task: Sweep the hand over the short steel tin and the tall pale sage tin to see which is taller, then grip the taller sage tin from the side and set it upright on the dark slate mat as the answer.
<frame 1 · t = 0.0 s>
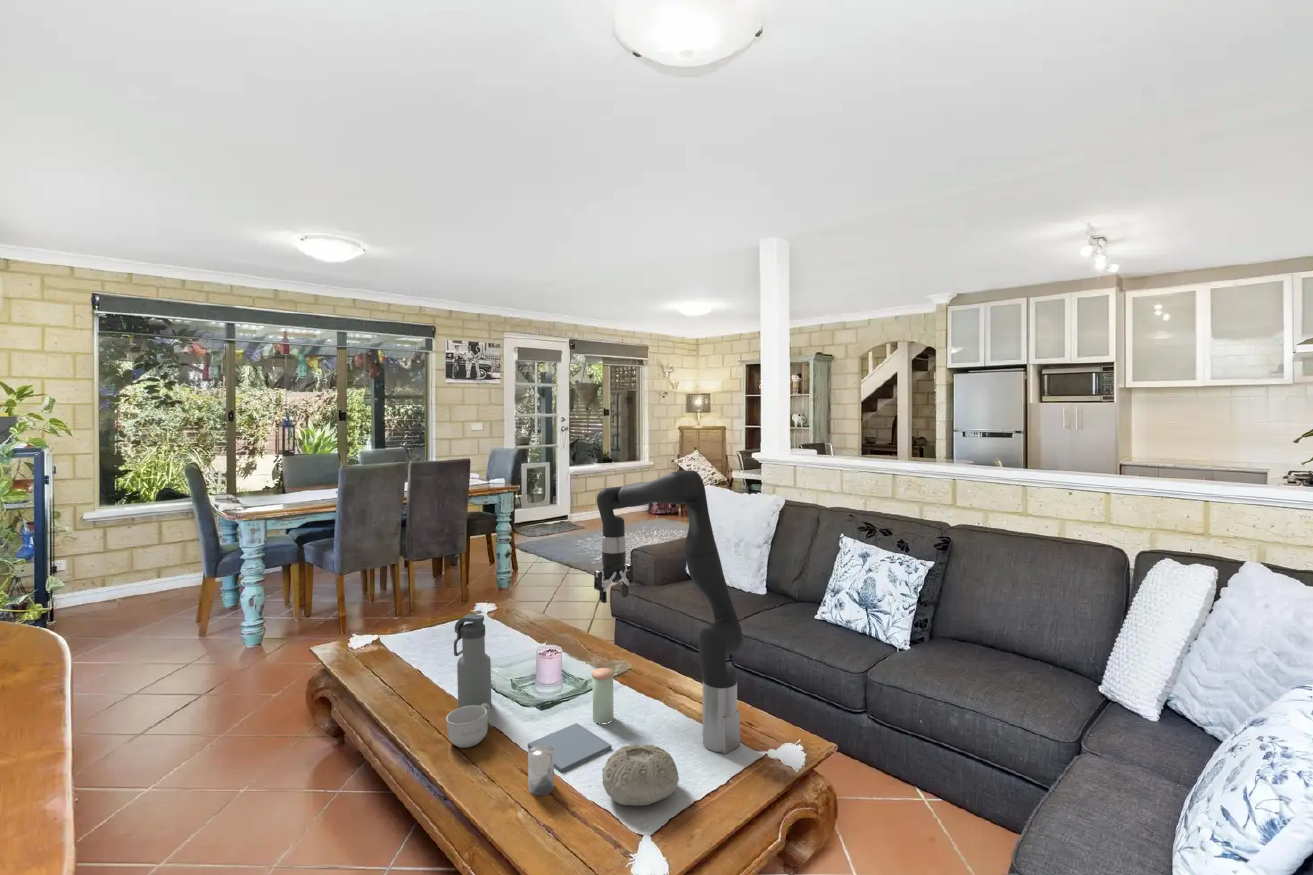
hand: (614, 599, 201), 29 cm above the table, tool pointing down, fingers open, 8 cm apart
decorative shell: (641, 794, 148), on the table
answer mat: (569, 747, 168), on the table
sage tin: (603, 719, 183), on the table
water bottle: (474, 707, 191), on the table
steel tin: (541, 788, 150), on the table
teacup: (472, 740, 173), on the table
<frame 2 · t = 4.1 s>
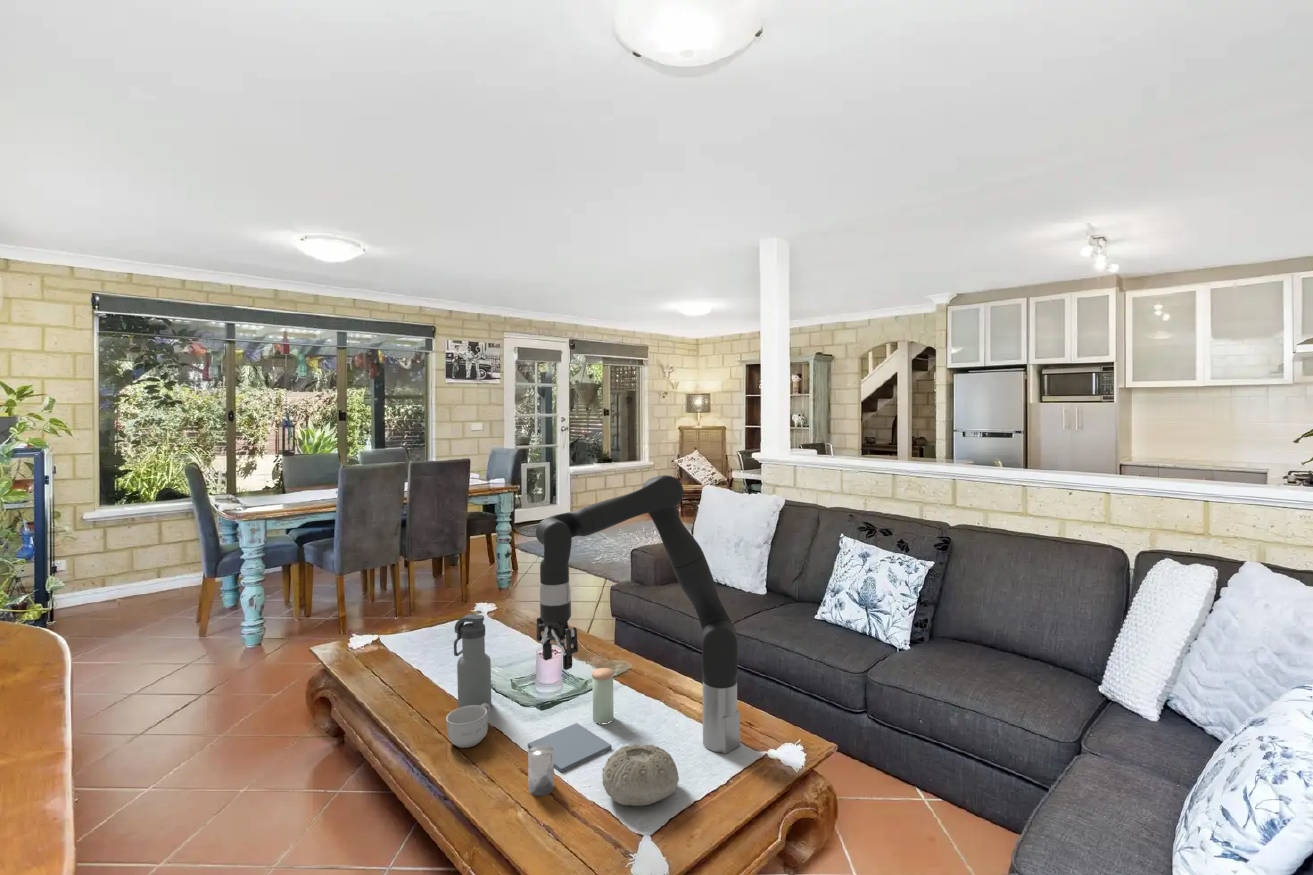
hand: (557, 663, 156), 27 cm above the table, tool pointing down, fingers open, 8 cm apart
nothing on the table moved.
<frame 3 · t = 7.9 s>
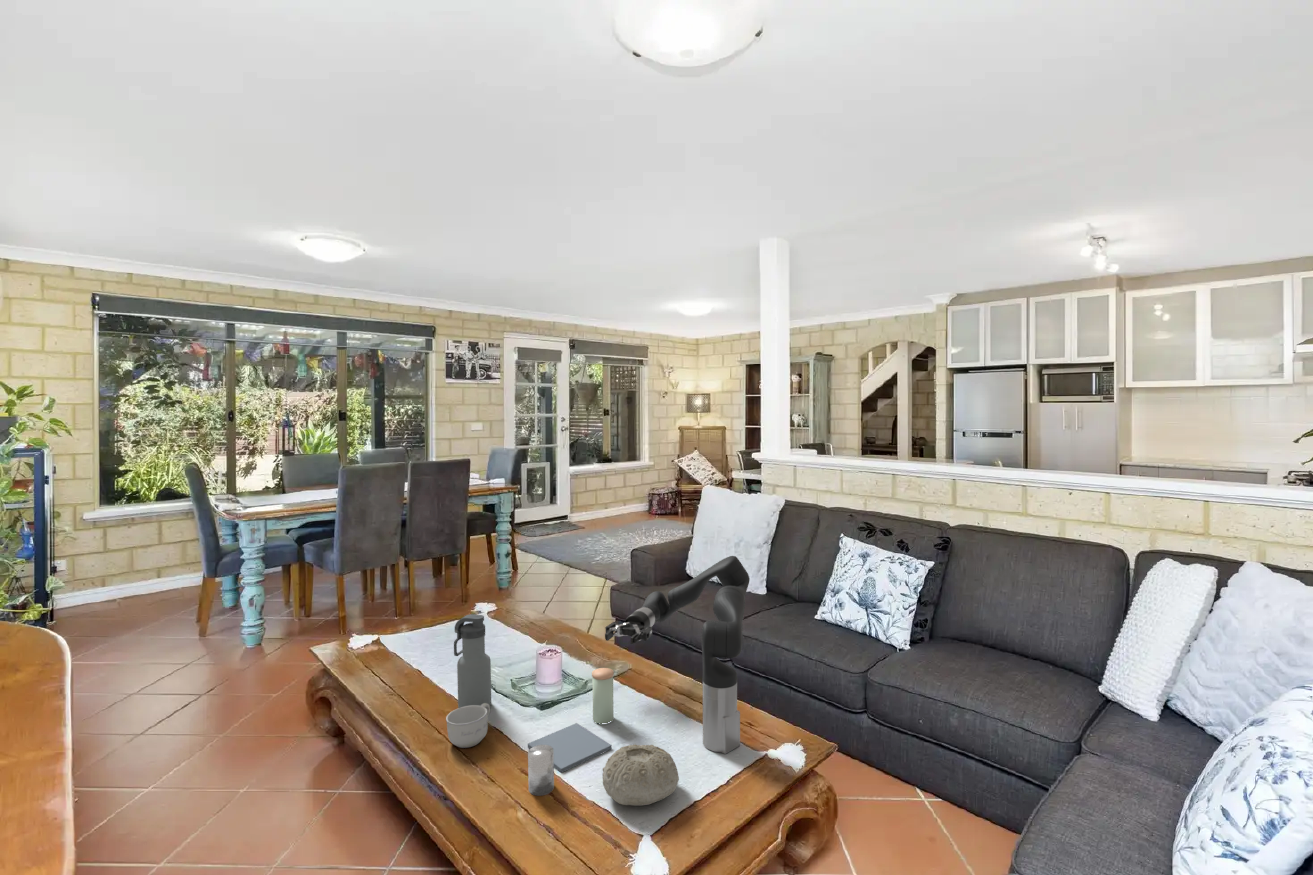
hand: (618, 639, 192), 20 cm above the table, tool horizontal, fingers open, 8 cm apart
nothing on the table moved.
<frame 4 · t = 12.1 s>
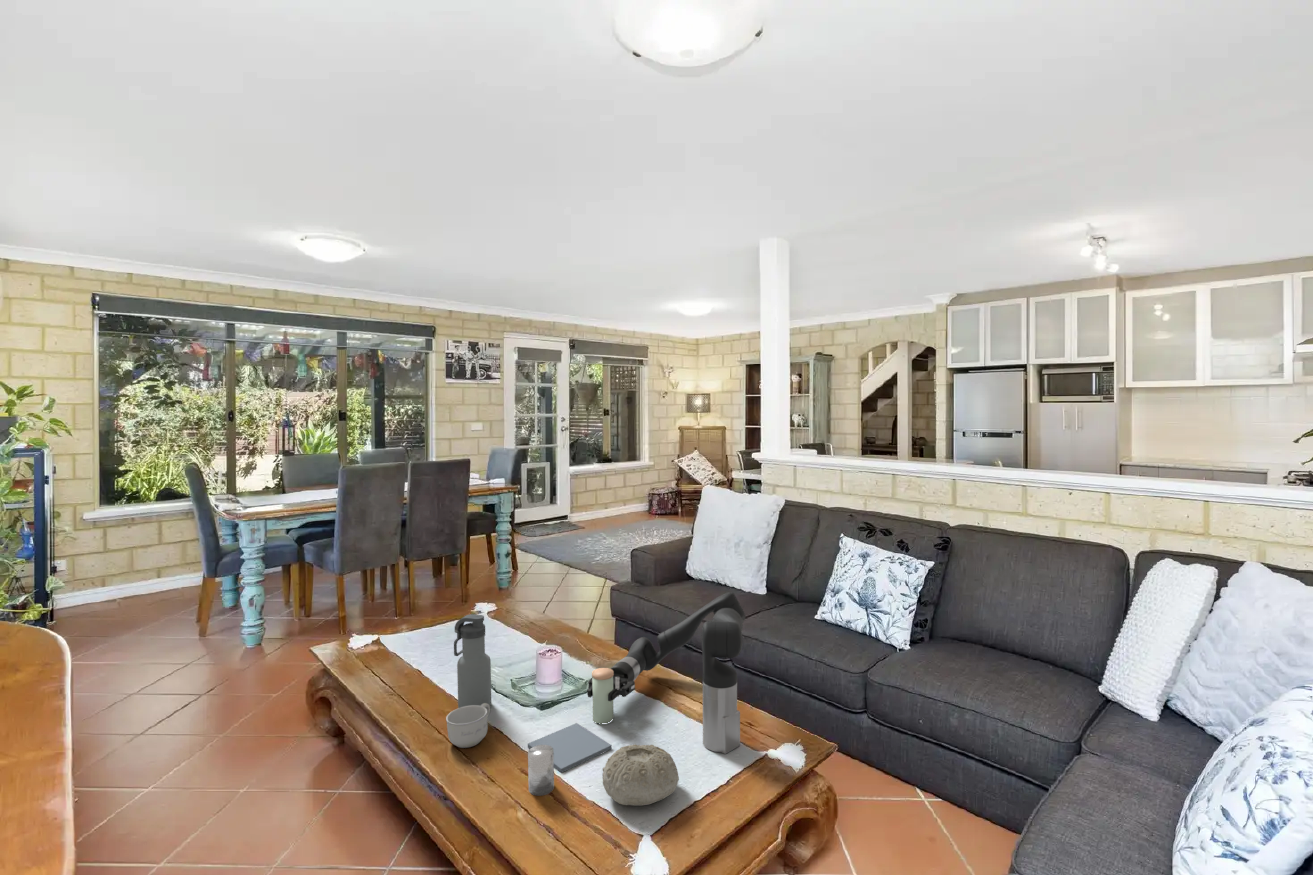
hand: (598, 696, 180), 8 cm above the table, tool horizontal, fingers closed on sage tin, 6 cm apart
sage tin: (603, 719, 183), on the table, touching gripper
everything else where it was.
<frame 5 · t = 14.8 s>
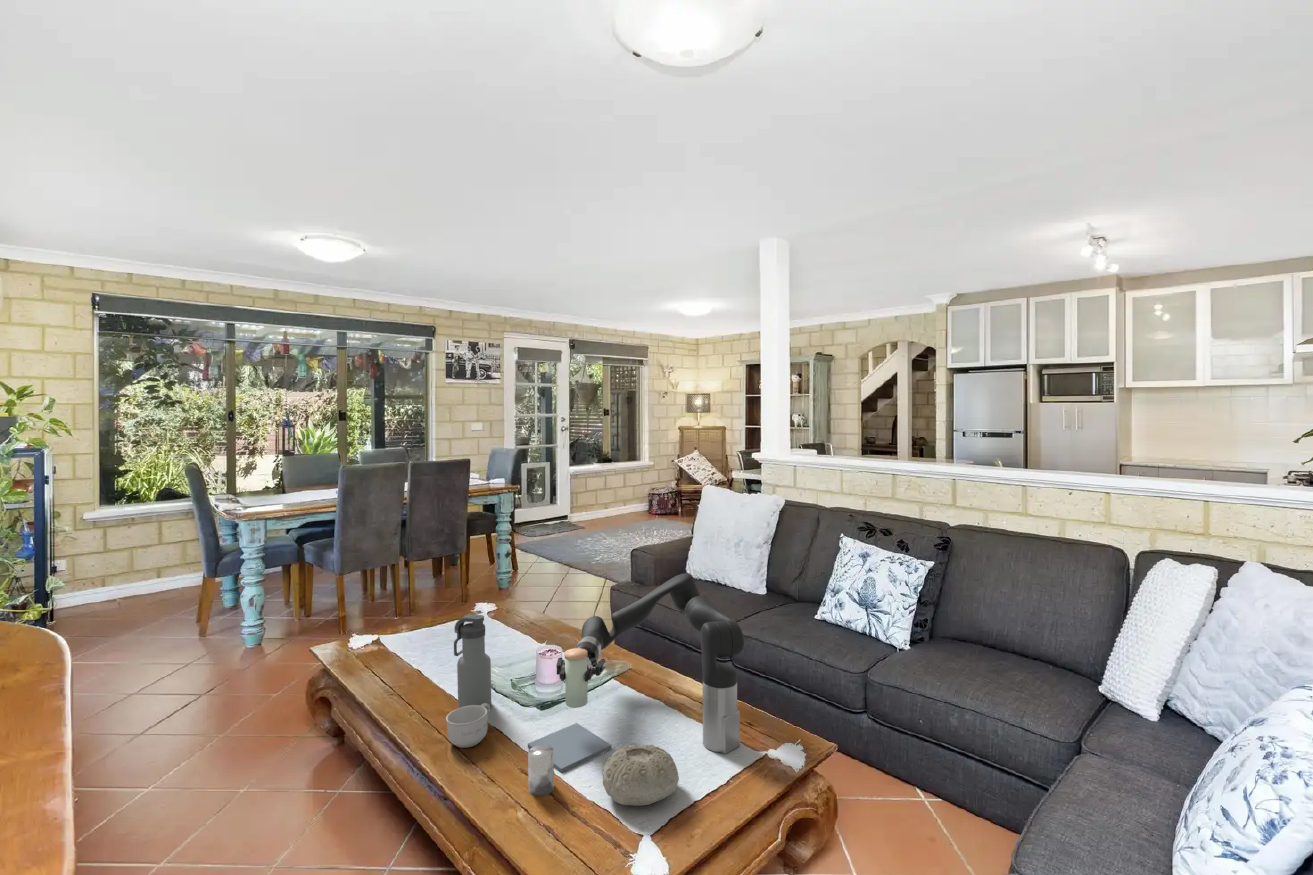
hand: (574, 677, 170), 18 cm above the table, tool horizontal, fingers closed on sage tin, 6 cm apart
sage tin: (576, 702, 173), point 10 cm above the table, touching gripper
everything else where it was.
when the fingers open (10 cm above the table, at t = 17.6 s): sage tin drops 1 cm, resting on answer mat.
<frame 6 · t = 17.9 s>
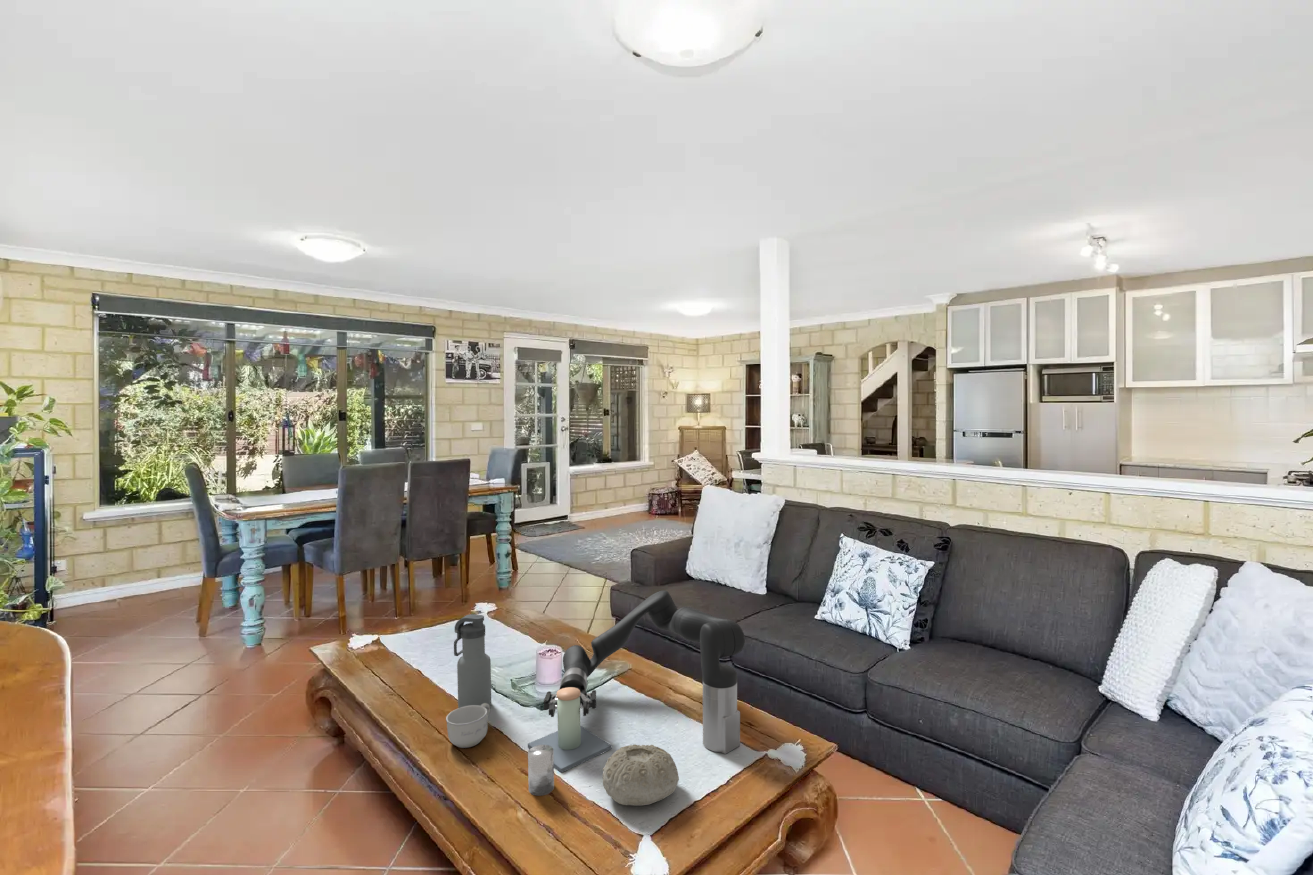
hand: (568, 713, 165), 11 cm above the table, tool horizontal, fingers open, 8 cm apart
sage tin: (569, 743, 168), point 1 cm above the table, touching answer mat
everything else where it was.
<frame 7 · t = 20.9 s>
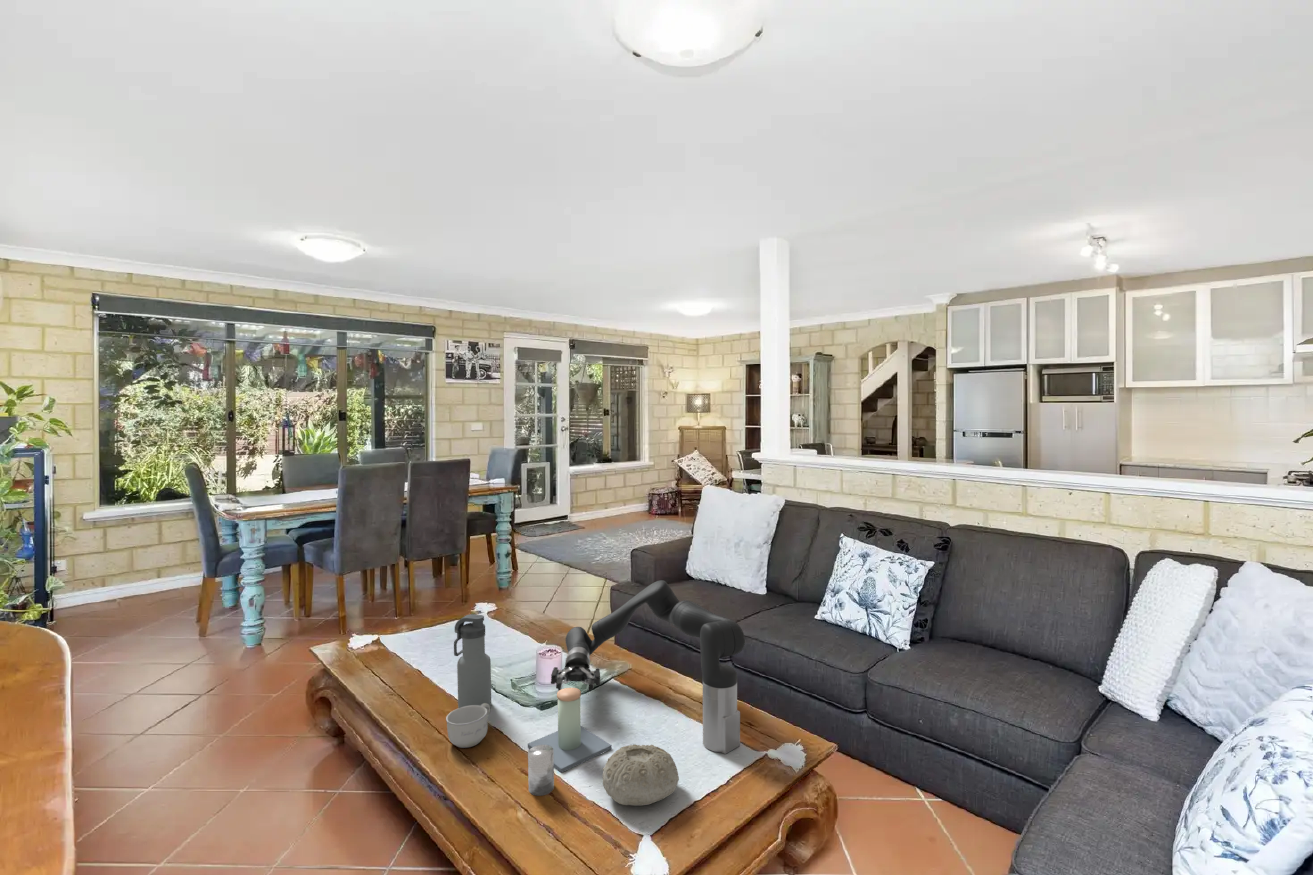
hand: (574, 687, 178), 11 cm above the table, tool horizontal, fingers open, 8 cm apart
nothing on the table moved.
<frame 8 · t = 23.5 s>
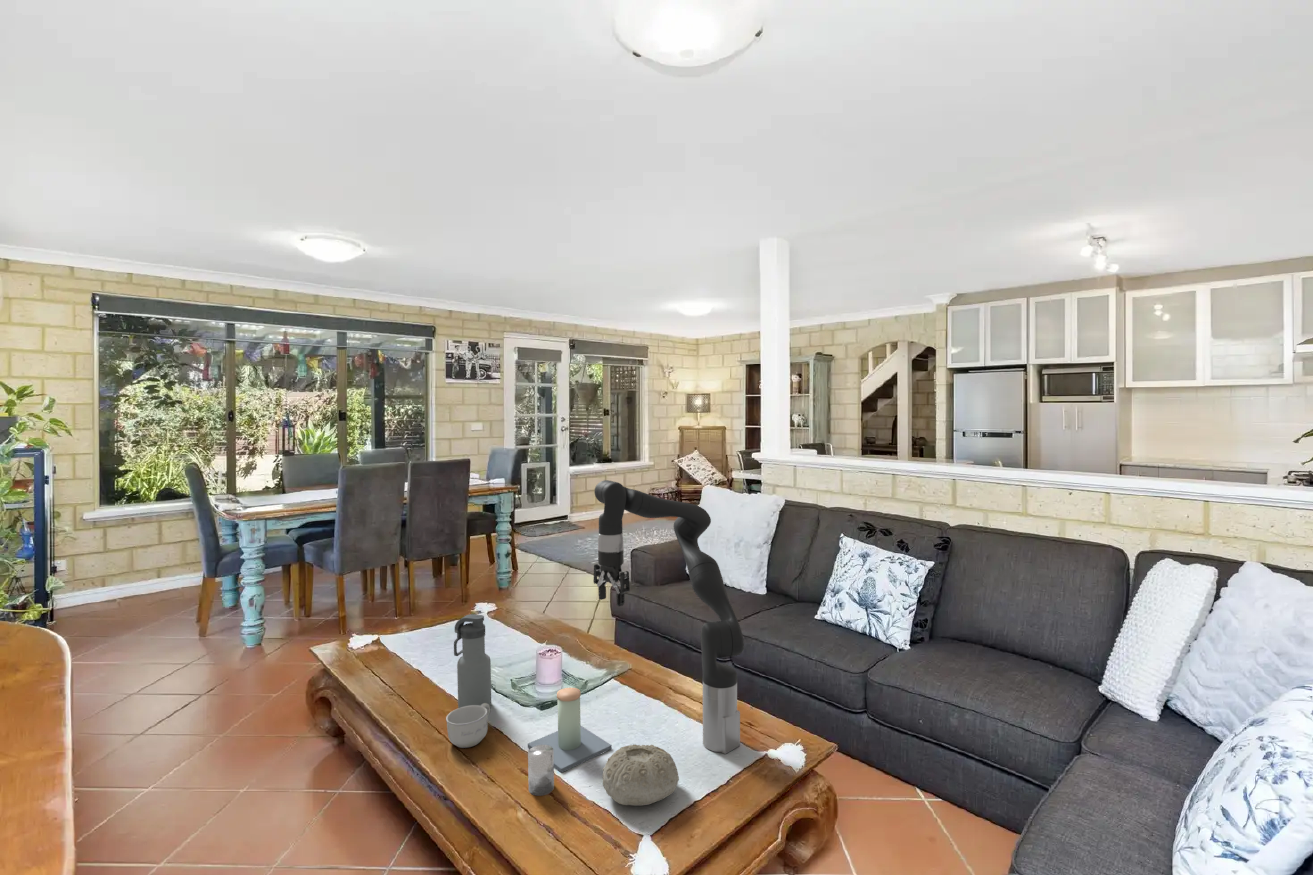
hand: (611, 602, 186), 33 cm above the table, tool pointing down, fingers open, 8 cm apart
nothing on the table moved.
at the end: sage tin inside the target area on the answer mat (0.1 cm from its centre), point 1.0 cm above the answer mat's base; sage tin tilted 0°; steel tin moved 0.0 cm from its start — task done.
